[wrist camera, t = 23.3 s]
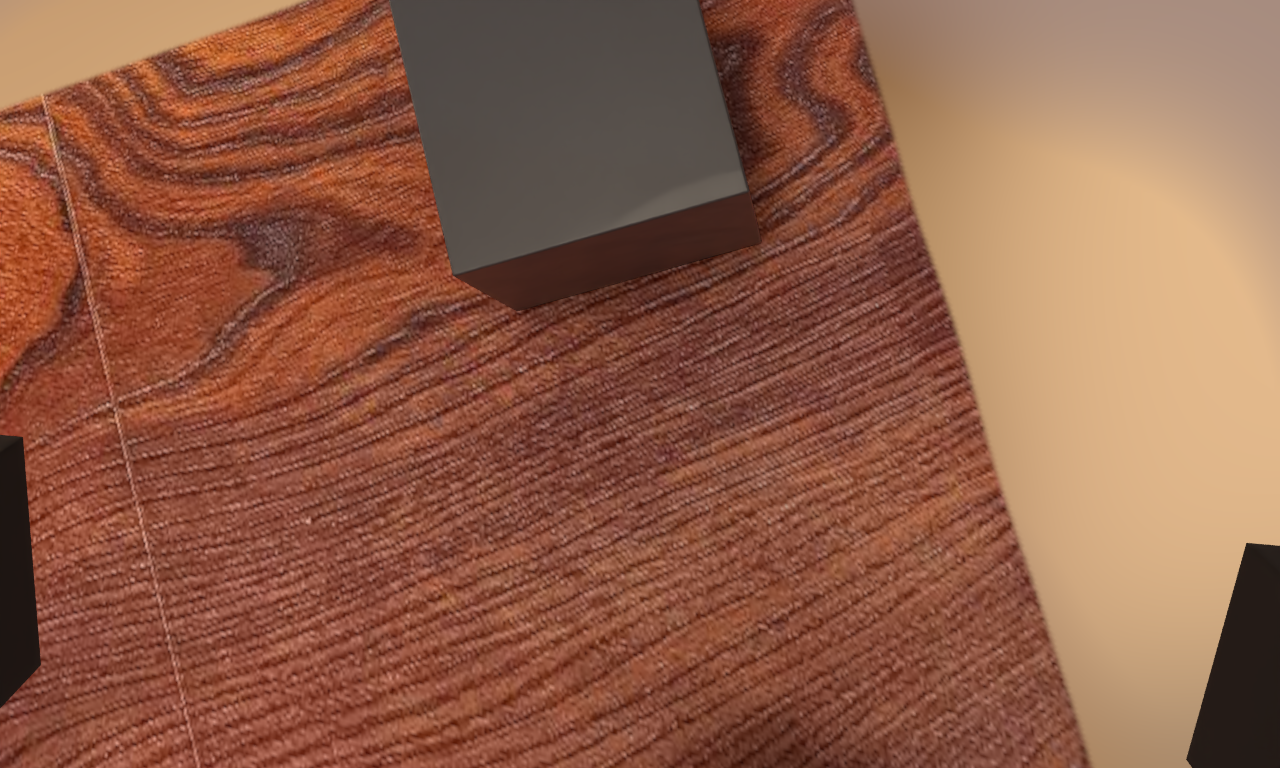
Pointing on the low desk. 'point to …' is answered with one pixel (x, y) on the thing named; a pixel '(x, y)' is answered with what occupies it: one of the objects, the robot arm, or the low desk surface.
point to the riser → (573, 141)
